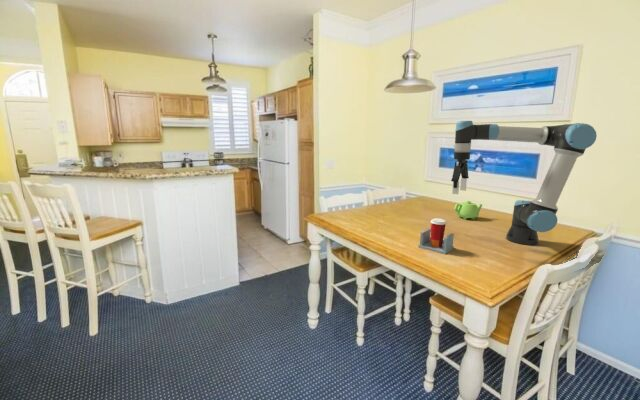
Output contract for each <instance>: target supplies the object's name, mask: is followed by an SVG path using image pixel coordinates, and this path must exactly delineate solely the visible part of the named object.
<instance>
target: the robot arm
mask: <svg viewBox="0 0 640 400" xmlns="http://www.w3.org/2000/svg"><path fill="white" fill-rule="evenodd" d="M472 140H473V141H475V140H476V141H477V140H481V141H499V142H500V141H502V142H519V143H520V142H521V143H535V144H536V143H538V144H539V145H540V146H542V145H543V146H549V147H553V151H554V152H555V154H554V156H553V159H552V161H551V163H550V165H549V167H548V170H547V172H546V175H545V177H544V179H543V182H542V183H541V187H540V189H539V191H538V193H537V196H536V198H535V199H532V200H526V199H525V200H524V199H522V200H520V199H519V200H515V202H514V204H513V212H512V218H511V220H512V221H511V226H510V227H509V229H508V231H507V233H506V236H505V239H506V240H508V241H509V242H511V243H514V244H520V245H527V246H534V245H535V246H536V245H538V244H539V236H538V235H539V234H538V232H539V233H547V232H549V231H552V230H553V229H554V228H556V226H557V224H558V216H557V213H558V211H559V207H558V206H557V203H558V201H559V198H560V196H561V195H562V192H563V190H564V188H565V186H566V183H567V181H568V179H569V177H570V175H571V172H572V170H573V169H574V166H575V164H576V161H577V159H578V158H579V157H582V156H583V155H584V153H585V152H586V149H588V148H589V147H591V146H593V145H594V144H595V142H596V141H597V131H596V129H595V128H594V127H593V126H592V125H590V124H588V123H583V122H582V123H580V122H578V123H577V122H576V123H565V124H560V125H548V126H547V125H542V127H528V126H527V127H526V126H525V127H524V126H505V125H504V126H503V125H500V126H499V125H498V124H497V123H494V124H493V123H485V124H484V123H483V124H482V123H481V124H473V121H472V120H459V121H457V122H456V126H455V137H454V145H453V147H454V153H453V160H455V162H454V168H453V172H452V178H451V182H452V191H451V192H452V195H459V191H464V192H466V191H467V181H468V179H469V167H468V164H469V163H468V160H470V158H471V147H472ZM456 160H457V161H456ZM460 176H461V178H460ZM459 189H460V190H459Z"/></svg>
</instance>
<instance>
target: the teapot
mask: <svg viewBox="0 0 640 400" xmlns="http://www.w3.org/2000/svg"><path fill="white" fill-rule="evenodd" d="M482 207H483V204H482V203H479V204H478V205H477V204H476V203H473V202H472V201H470V200H466V201H465V202H460V203H455V205H454V208H453V211H454V212H456V215H457V216H458V218H463V220H465V221H466V220H467V219H470V220H473V221H475V220H476V218H478V217H479V215H480V211H481V210H482Z"/></svg>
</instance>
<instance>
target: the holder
mask: <svg viewBox="0 0 640 400" xmlns="http://www.w3.org/2000/svg"><path fill="white" fill-rule="evenodd" d="M454 235H455V233H451V232H450V234H448V235H446V236H444V237H443V243H442V247H441V248H436V247H432V246H431V227H430V228H429V227H428V228H426V229H425V230H423V231H421V232H420V237H419V244H418V246H417V248H421V249H422V250H423V249H424V250H426V251H427V250H428V251H430V252H431V251H432V252H435V253H438V254H443V255H446V254H448V253H449V252H450V251H452V250H454V247H455V246H454V237H455V236H454Z"/></svg>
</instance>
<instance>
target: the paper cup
mask: <svg viewBox="0 0 640 400" xmlns="http://www.w3.org/2000/svg"><path fill="white" fill-rule="evenodd" d="M446 225H447V220H445V219H443V218H432V219H431V220H430V229H431V232H430V237H431V246H432V247H436V248H441V247H442V243H443V240H444V238H445V230H446Z"/></svg>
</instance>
